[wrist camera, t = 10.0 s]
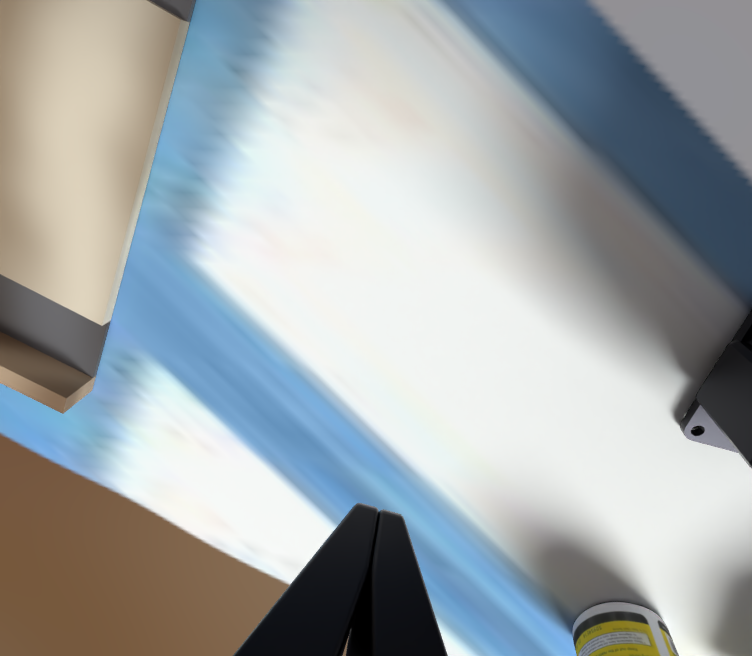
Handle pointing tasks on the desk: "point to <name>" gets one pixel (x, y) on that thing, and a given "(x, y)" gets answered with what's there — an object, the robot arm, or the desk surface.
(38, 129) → the wooden rectangular frame
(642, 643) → the supplement bottle
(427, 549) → the desk surface
